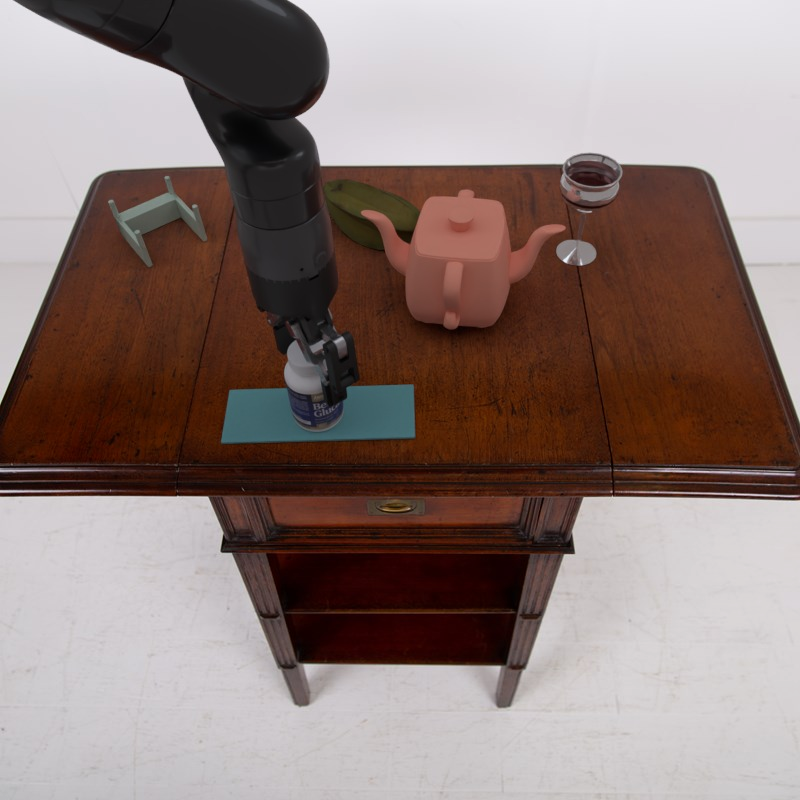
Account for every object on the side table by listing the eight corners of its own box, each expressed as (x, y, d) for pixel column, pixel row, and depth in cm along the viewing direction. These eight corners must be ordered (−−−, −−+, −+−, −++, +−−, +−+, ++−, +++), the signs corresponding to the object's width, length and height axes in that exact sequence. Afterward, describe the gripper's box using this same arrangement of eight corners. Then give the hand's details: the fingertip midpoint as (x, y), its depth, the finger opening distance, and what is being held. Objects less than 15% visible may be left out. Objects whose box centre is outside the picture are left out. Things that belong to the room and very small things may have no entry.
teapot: (366, 290, 91) (358, 204, 82) (476, 238, 97) (481, 152, 87) (438, 367, 84) (439, 282, 74) (553, 306, 89) (568, 219, 79)
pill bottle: (321, 442, 77) (309, 381, 70) (282, 417, 79) (267, 355, 72) (355, 408, 80) (347, 346, 72) (316, 385, 82) (305, 322, 74)
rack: (208, 240, 98) (198, 206, 94) (148, 268, 95) (135, 234, 91) (178, 208, 103) (167, 174, 98) (120, 234, 100) (106, 200, 95)
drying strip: (221, 444, 78) (220, 442, 78) (230, 391, 82) (229, 389, 82) (415, 438, 78) (415, 437, 77) (413, 386, 82) (413, 384, 82)
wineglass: (591, 230, 97) (608, 148, 88) (612, 264, 93) (633, 182, 84) (540, 240, 96) (553, 157, 87) (560, 275, 92) (575, 192, 83)
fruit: (339, 268, 94) (333, 226, 89) (324, 210, 101) (319, 167, 96) (428, 253, 95) (428, 210, 90) (407, 196, 103) (406, 154, 97)
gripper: (206, 222, 64) (243, 350, 77) (295, 315, 57) (320, 439, 70) (281, 188, 67) (305, 317, 80) (375, 273, 60) (385, 400, 73)
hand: (312, 374), depth 75 cm, fingers open, 8 cm apart
